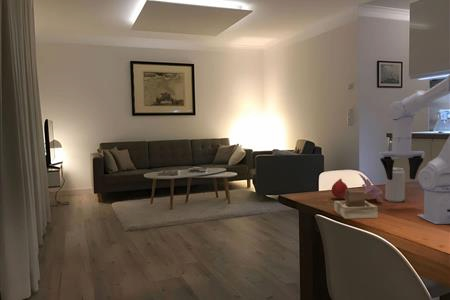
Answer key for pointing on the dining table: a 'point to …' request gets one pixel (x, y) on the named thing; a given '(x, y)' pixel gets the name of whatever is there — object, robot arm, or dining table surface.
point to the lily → (371, 189)
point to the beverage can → (395, 186)
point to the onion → (339, 189)
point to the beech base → (356, 210)
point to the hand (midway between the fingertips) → (401, 179)
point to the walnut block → (355, 198)
